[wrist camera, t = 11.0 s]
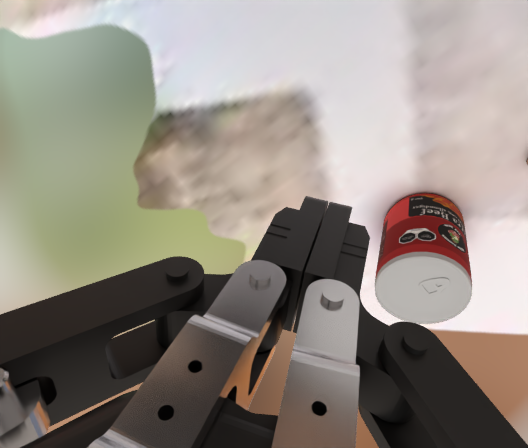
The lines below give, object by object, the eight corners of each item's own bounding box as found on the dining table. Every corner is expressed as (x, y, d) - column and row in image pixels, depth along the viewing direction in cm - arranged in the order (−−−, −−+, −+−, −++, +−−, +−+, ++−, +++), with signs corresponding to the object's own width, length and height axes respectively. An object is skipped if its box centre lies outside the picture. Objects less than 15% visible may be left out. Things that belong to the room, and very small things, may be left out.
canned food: (481, 220, 43) (494, 294, 34) (422, 264, 48) (422, 338, 39) (421, 175, 42) (420, 239, 34) (369, 224, 47) (356, 291, 38)
